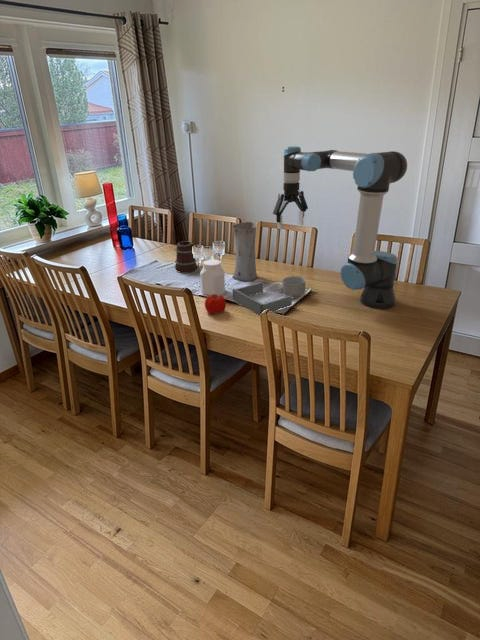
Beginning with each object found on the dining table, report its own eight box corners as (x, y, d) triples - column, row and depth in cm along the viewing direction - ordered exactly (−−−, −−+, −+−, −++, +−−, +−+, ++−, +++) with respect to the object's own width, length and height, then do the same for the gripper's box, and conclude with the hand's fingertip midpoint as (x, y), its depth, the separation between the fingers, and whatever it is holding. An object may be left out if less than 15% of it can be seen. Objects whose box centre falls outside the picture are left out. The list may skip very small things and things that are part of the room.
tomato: (201, 312, 194) (200, 296, 190) (216, 306, 199) (216, 290, 196) (215, 318, 188) (215, 302, 184) (230, 312, 193) (230, 296, 190)
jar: (228, 290, 216) (227, 260, 209) (219, 297, 208) (217, 267, 202) (208, 286, 221) (206, 257, 214) (198, 293, 213) (196, 263, 206)
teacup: (304, 300, 203) (304, 284, 199) (280, 299, 205) (281, 283, 201) (306, 289, 215) (306, 274, 211) (284, 288, 217) (284, 272, 213)
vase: (229, 281, 227) (227, 228, 214) (237, 271, 239) (236, 221, 226) (253, 284, 224) (253, 230, 211) (260, 274, 235) (260, 222, 222)
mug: (189, 274, 237) (187, 247, 231) (171, 270, 243) (168, 244, 236) (204, 265, 250) (203, 239, 243) (187, 262, 255) (185, 237, 248)
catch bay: (291, 306, 197) (291, 295, 195) (261, 316, 189) (261, 304, 186) (261, 291, 214) (261, 281, 211) (232, 299, 205) (232, 289, 203)
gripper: (305, 178, 216) (304, 221, 225) (265, 183, 203) (265, 229, 212) (316, 179, 210) (314, 224, 220) (276, 185, 198) (275, 232, 207)
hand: (290, 226), depth 216 cm, fingers open, 13 cm apart
